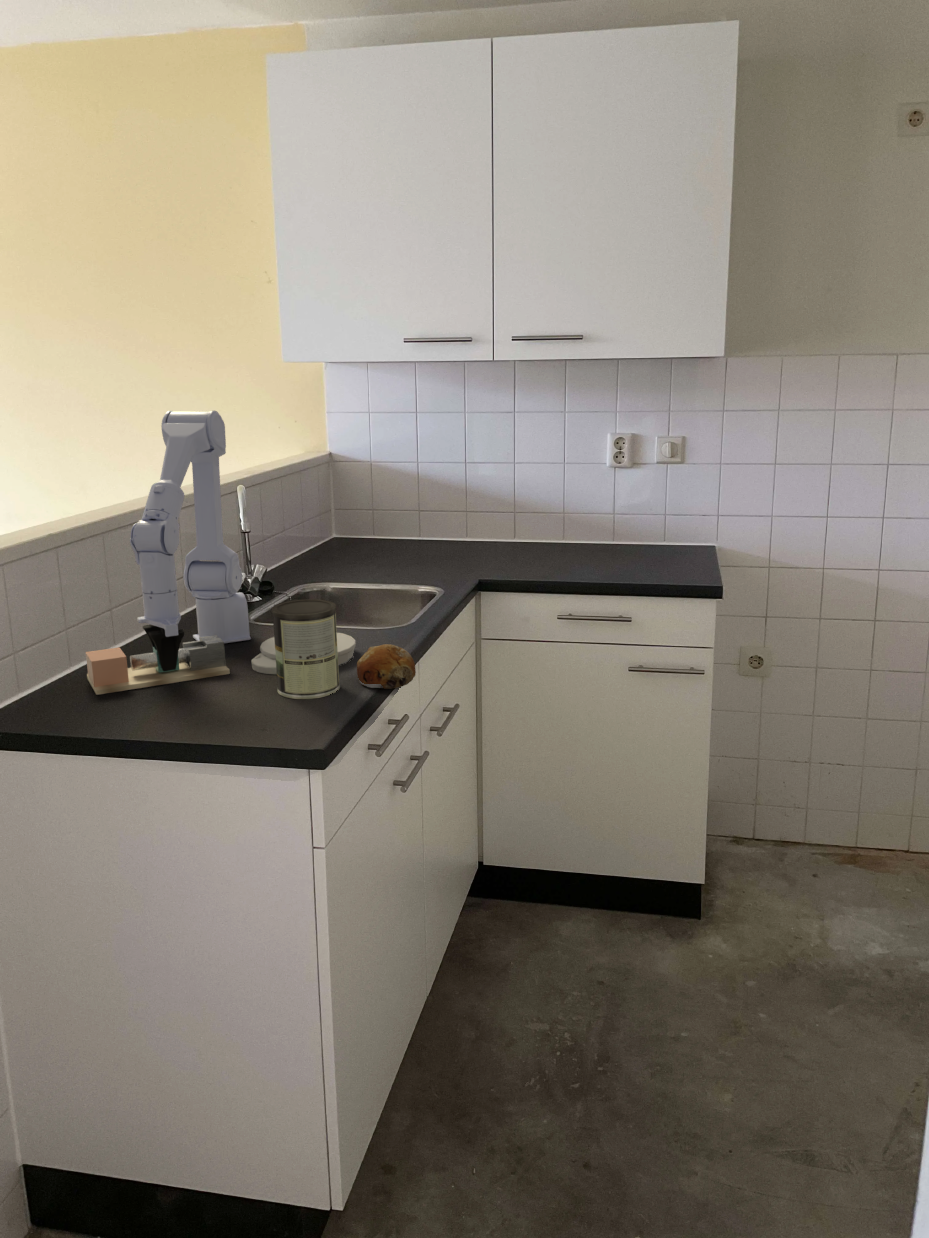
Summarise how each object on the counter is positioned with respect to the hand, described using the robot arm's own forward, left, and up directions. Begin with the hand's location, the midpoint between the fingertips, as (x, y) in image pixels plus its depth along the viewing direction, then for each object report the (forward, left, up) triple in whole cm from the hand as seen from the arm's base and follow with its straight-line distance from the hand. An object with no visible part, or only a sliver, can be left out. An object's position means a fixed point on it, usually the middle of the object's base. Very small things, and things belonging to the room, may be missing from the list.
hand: (166, 667), depth 171 cm
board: (+2, 0, -1) cm, 2 cm away
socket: (+10, 0, -1) cm, 10 cm away
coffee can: (-18, +20, -2) cm, 27 cm away
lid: (-23, +3, -2) cm, 24 cm away
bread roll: (-31, +22, -2) cm, 39 cm away
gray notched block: (-6, 0, -1) cm, 7 cm away
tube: (-2, 0, 0) cm, 2 cm away
